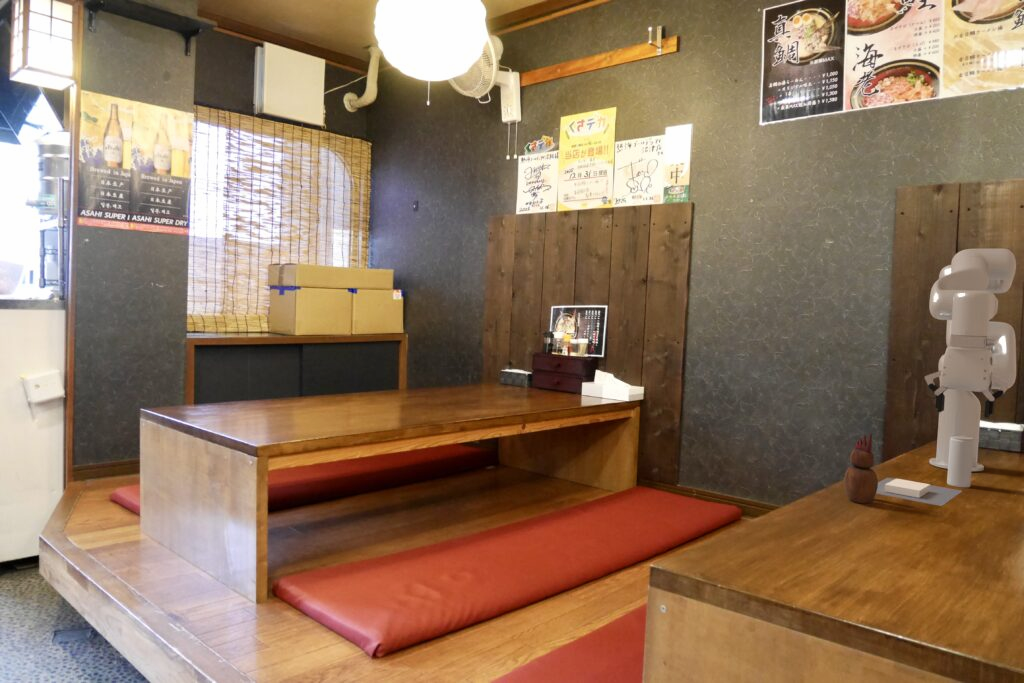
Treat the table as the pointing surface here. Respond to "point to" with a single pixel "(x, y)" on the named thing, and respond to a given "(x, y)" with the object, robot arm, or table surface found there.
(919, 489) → the tile
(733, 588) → the table surface
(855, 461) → the wooden figurine
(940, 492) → the mat
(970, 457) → the beverage can
